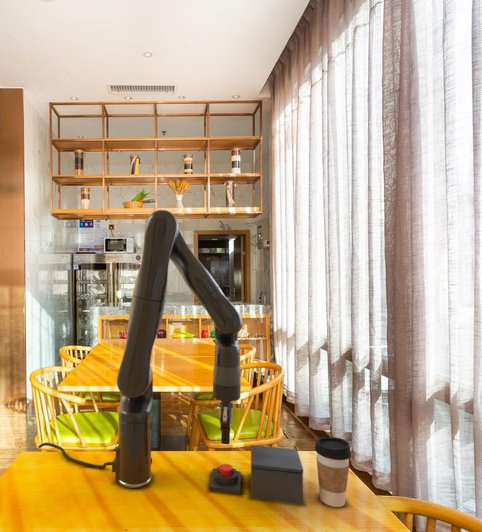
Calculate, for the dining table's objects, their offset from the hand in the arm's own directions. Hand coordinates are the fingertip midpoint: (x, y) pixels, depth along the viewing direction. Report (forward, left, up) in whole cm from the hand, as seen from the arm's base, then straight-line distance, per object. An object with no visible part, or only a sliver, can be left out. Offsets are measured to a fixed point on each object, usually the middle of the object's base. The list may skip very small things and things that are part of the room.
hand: (225, 443), depth 110 cm
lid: (+13, -1, -3) cm, 14 cm away
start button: (0, 0, -8) cm, 8 cm away
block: (0, 0, -11) cm, 11 cm away
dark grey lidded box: (+13, 0, -11) cm, 17 cm away
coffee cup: (+27, -2, -11) cm, 30 cm away
